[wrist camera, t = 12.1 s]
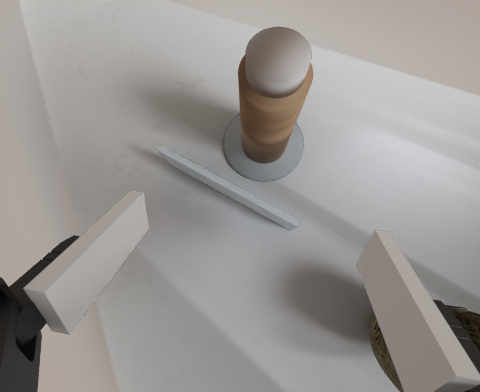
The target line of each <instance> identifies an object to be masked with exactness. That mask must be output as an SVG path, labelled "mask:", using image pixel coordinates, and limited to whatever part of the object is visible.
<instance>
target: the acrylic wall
mask: <svg viewBox="0 0 480 392" xmlns="http://www.w3.org/2000/svg"><path fill="white" fill-rule="evenodd" d="M156 150H157V151H158V152H159V153H160V154H161V155H162V156H163V157H164V158H165V159H166V161H167V162H168V163H169V164H170V165H172V166H174V167H176V168H178V169H179V170H181V171H183V172H185V173H187V174H189V175H190V176H192V177H194V178H196V179H198V180H199V181H201V182H203V183H205V184H207V185H208V186H210V187H212V188H214V189H216V190H218V191H219V192H221V193H223V194H225V195H227V196H228V197H230V198H232V199H234V200H236V201H238V202H239V203H241V204H243V205H245V206H247V207H248V208H250V209H252V210H254V211H256V212H257V213H259V214H261V215H263V216H265V217H267V218H268V219H270V220H272V221H274V222H276V223H277V224H279V225H281V226H283V227H285V228H287V229H288V230H291V229H294V228H297V227H298V226H299V224H300V222H301V221H300V220H298V219H297V218H295V217H293V216H291V215H289V214H287V213H285V212H284V211H282V210H280V209H278V208H276V207H274V206H272V205H271V204H269V203H267V202H265V201H263V200H261V199H260V198H258V197H256V196H254V195H252V194H250V193H248V192H247V191H245V190H243V189H241V188H239V187H237V186H236V185H234V184H232V183H230V182H228V181H226V180H224V179H223V178H221V177H219V176H217V175H215V174H213V173H212V172H210V171H208V170H206V169H204V168H202V167H200V166H199V165H197V164H195V163H193V162H191V161H189V160H187V159H186V158H184V157H182V156H180V155H178V154H176V153H175V152H173V151H171V150H169V149H167V148H165V147H163V146H162V145H159V146H158V148H157V149H156Z"/></svg>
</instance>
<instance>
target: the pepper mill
mask: <svg viewBox="0 0 480 392" xmlns="http://www.w3.org/2000/svg"><path fill="white" fill-rule="evenodd" d="M311 58H312V51H311V47H310V45H309V43H308V41H307V40H306V39H305V38H304V37H303V36H302V35H301V34H300V33H298V32H297V31H295V30H292V29H289V28H285V27H272V28H268V29H264V30H262V31H260V32H259V33H257V34H256V35H254V36H253V37H252V39H251V40H250V41H249V43H248V45H247V48H246V54H245V56H244V57H243V58H242V60H241V62H240V65H239V69H238V79H239V99H240V120H241V140H242V149H243V151H244V153H245V154H246V156H247V157H248V158H249V159H251V160H252V161H254V162H257V163H263V164H266V163H271V162H274V161H276V160H277V159H279V158H280V157H281V156H282V154H283V153H284V151H285V149H286V146H287V144H288V141H289V139H290V136H291V133H292V131H293V128H294V126H295V123H296V121H297V118H298V116H299V113H300V111H301V108H302V106H303V103H304V101H305V98H306V96H307V93H308V90H309V88H310V85H311V83H312V79H313V69H312V65H311Z"/></svg>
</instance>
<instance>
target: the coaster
mask: <svg viewBox="0 0 480 392" xmlns="http://www.w3.org/2000/svg"><path fill="white" fill-rule="evenodd" d="M303 148H304V139H303V135H302V131H301V129H300V127H299V125H298V124H297V123H295V126H294V128H293V131H292V133H291V136H290V139H289V141H288V144H287V146H286V149H285V151H284V153H283V154H282V156H281V157H280V158H279V159H277V160H276V161H274V162H271V163H266V164H263V163H257V162H254V161H252V160H251V159H249V158H248V157H247V156H246V154H245V153H244V151H243V149H242V140H241V120H240V114H239V115H238V116H236V117H235V118H234V119H233V120H232V121H231V123H230V124H229V126H228V128H227V130H226V132H225V136H224V150H225V154H226V157H227V159H228V161H229V163H230V164H231V166H232V167H233V168H234V169H235V170H236V171H237V172H238V173H239V174H241V175H242V176H244V177H246V178H249V179H252V180H256V181H272V180H276V179H279V178H282V177H284V176H285V175H287V174H288V173H290V172H291V171H292V170H293V169H294V168H295V167H296V165H297V164H298V162H299V161H300V159H301V156H302V153H303Z"/></svg>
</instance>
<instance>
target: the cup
mask: <svg viewBox="0 0 480 392" xmlns="http://www.w3.org/2000/svg"><path fill="white" fill-rule="evenodd" d="M445 306H446V307H447V308H448V309H449V310H450V311H451V312H452V313H454V315H455V316H456V318H457V319H458V321H459V322H460V324H461V325H462V327H463V330H465V331H466V333H467V334H468V335H469V337H470V338H471V339H470V340H471V341H473V343H474V344H475V346H476V347H477V349H478V350H479V352H480V315H479V314H477V313H473V312H470V311H468V310H467V308H463V307H455V306H448V305H445ZM370 342H371V346H372V350H373V353H374V355H375V357H376V359H377V361H378V363H379V365H380V366H381V368H382V369H383V371H384V372H385V374H386V375H387V376H388V378H389V379H390V380H391V381H392V383H393V384H394V385H395V386H396V387H397V389H398V390H399V391H400V392H404V390H403V388H402V385H401V382H400V380H399V377H398V374H397V372H396V369H395V366H394V364H393V361H392V358H391V356H390V353H389V350H388V348H387V345H386V342H385V340H384V337H383V334H382V332H381V329H380V326H379V324H378V321H377V318H376V316H375V314H374V315H373V316H372V318H371V320H370Z"/></svg>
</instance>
